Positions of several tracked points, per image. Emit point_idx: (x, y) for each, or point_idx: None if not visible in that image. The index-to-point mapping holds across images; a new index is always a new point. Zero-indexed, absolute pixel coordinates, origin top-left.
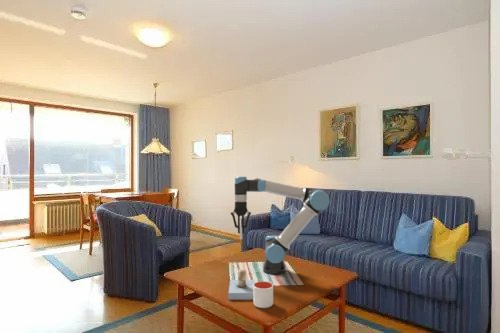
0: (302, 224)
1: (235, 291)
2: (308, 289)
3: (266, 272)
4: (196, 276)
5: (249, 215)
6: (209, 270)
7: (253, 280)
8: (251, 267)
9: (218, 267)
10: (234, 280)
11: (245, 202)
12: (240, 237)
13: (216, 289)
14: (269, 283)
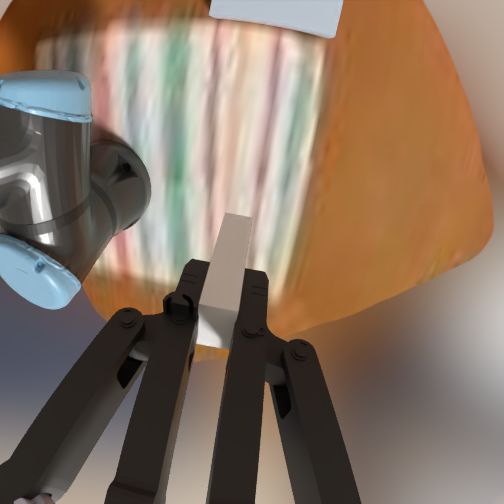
0: None
1: None
2: (36, 7)
3: (138, 160)
4: (436, 193)
5: (4, 466)
6: (375, 240)
7: (214, 9)
8: (197, 233)
9: (332, 261)
10: (314, 27)
11: None
12: (241, 226)
13: (393, 29)
14: None
